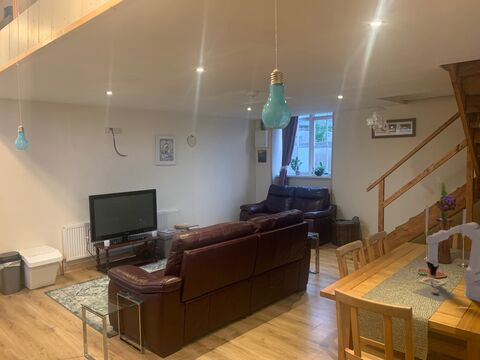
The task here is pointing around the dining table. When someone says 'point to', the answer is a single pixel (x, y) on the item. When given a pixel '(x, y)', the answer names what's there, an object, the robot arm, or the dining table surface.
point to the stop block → (430, 274)
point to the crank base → (439, 297)
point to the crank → (433, 289)
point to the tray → (432, 280)
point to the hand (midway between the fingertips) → (432, 274)
